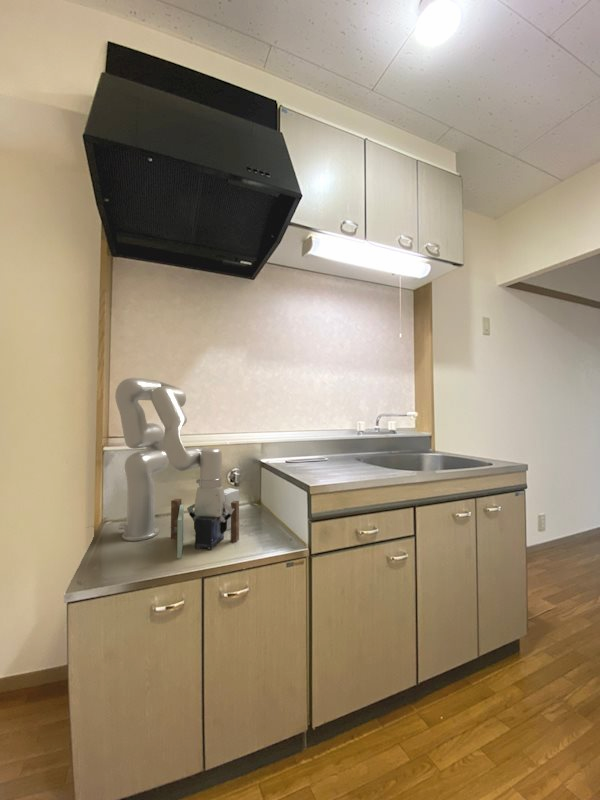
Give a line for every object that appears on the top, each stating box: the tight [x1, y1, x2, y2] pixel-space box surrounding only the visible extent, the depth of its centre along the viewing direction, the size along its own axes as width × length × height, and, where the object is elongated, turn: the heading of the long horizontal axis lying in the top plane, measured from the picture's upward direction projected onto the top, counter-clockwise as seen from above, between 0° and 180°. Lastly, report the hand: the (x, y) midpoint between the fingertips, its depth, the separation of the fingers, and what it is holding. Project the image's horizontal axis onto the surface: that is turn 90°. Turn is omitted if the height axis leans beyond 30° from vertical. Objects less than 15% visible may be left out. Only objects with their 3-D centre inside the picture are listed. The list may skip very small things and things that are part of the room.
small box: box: [194, 516, 225, 551], centre depth 117 cm, size 11×6×10 cm, turn 169°
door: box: [174, 503, 185, 559], centre depth 114 cm, size 19×3×12 cm, turn 18°
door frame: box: [170, 498, 240, 543], centre depth 121 cm, size 25×3×14 cm, turn 83°
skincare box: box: [224, 487, 240, 532], centre depth 133 cm, size 8×6×15 cm
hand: (210, 531), depth 117 cm, fingers open, 9 cm apart
